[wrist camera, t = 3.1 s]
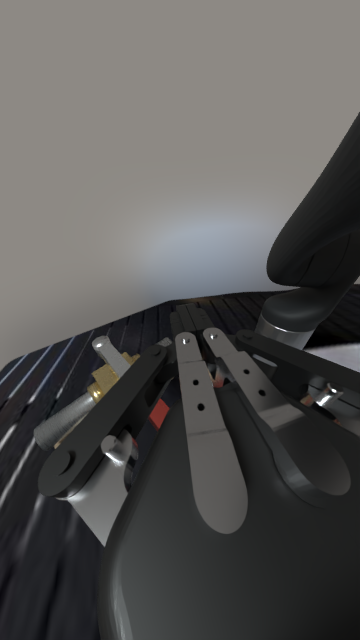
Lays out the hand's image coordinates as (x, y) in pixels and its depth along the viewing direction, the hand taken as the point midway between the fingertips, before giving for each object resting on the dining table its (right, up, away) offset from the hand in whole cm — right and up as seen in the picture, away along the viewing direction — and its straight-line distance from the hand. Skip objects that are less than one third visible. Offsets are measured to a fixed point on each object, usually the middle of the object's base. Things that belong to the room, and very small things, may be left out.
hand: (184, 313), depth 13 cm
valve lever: (-8, -10, +10) cm, 17 cm away
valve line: (-14, -17, +23) cm, 32 cm away
